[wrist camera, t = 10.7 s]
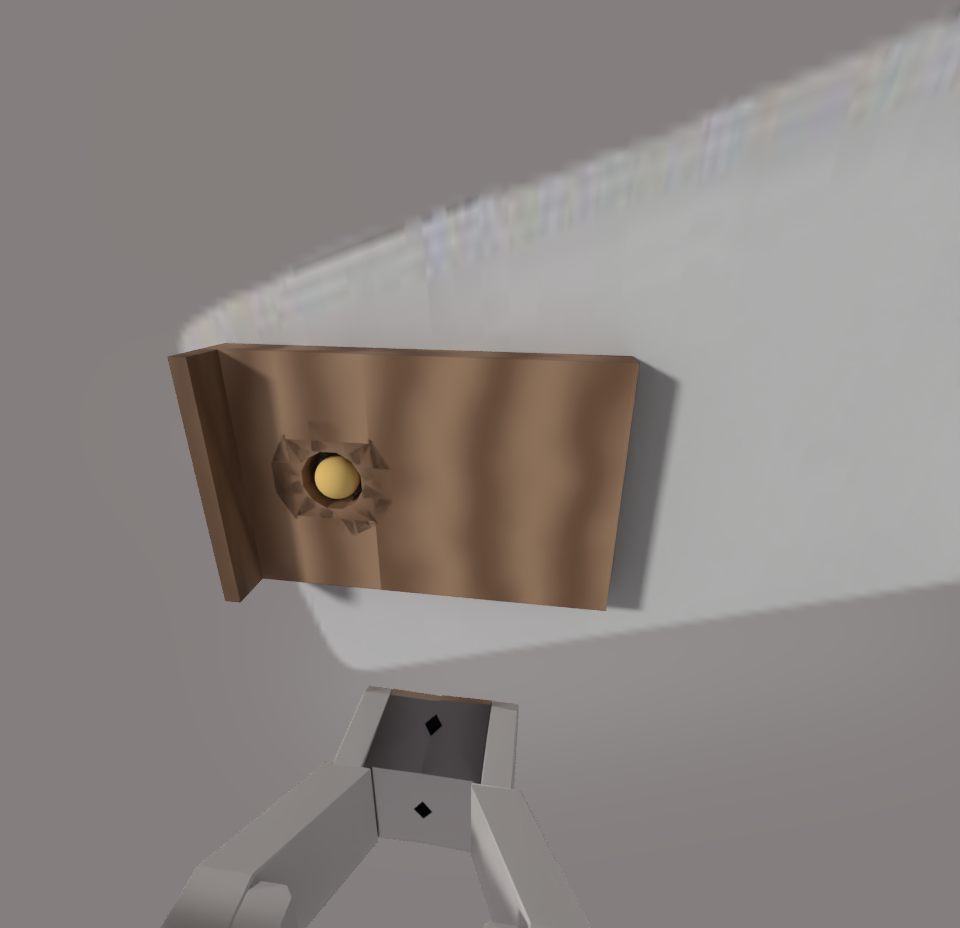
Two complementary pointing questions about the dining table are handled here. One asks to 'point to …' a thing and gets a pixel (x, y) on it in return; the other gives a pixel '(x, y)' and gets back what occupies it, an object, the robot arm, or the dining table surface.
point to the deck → (412, 468)
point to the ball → (337, 477)
